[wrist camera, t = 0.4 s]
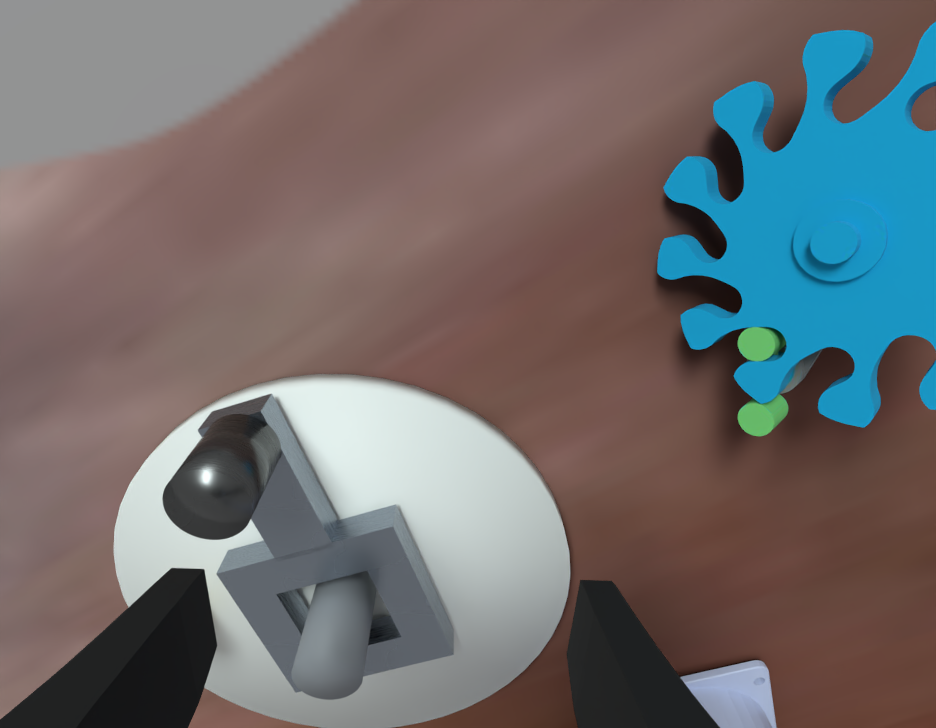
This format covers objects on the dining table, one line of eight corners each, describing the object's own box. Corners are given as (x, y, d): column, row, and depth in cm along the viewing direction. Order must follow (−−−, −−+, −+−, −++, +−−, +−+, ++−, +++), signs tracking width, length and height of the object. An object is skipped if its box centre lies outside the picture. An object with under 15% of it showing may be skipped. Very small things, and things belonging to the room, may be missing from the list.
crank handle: (453, 629, 24) (453, 730, 20) (302, 666, 25) (275, 770, 21) (333, 368, 19) (303, 437, 15) (147, 424, 20) (73, 504, 16)
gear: (737, -27, 14) (1329, 73, 9) (809, 11, 18) (1249, 96, 13) (591, 348, 20) (901, 540, 15) (670, 314, 24) (935, 457, 19)
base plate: (605, 659, 27) (636, 774, 22) (252, 741, 29) (214, 862, 24) (496, 310, 20) (509, 375, 15) (32, 452, 21) (-81, 547, 17)
